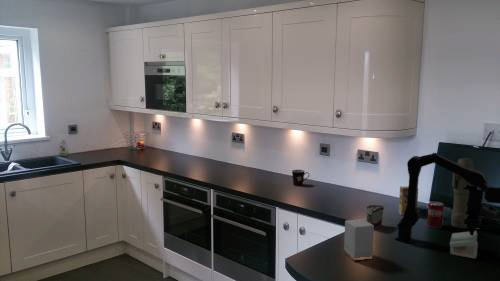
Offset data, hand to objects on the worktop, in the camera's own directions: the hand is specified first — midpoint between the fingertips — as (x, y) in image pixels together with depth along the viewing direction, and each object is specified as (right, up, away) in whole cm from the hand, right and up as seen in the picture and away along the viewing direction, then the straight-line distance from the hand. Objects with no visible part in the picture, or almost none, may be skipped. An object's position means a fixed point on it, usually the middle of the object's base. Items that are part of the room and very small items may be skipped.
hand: (471, 234), depth 186 cm
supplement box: (-50, -9, -4) cm, 51 cm away
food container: (-34, -3, +33) cm, 48 cm away
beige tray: (-2, -8, +2) cm, 8 cm away
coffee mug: (-61, +10, +113) cm, 129 cm away
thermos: (+12, -3, +34) cm, 36 cm away
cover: (-2, -3, +2) cm, 4 cm away
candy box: (-9, 0, +52) cm, 53 cm away
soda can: (-2, -3, +33) cm, 33 cm away
